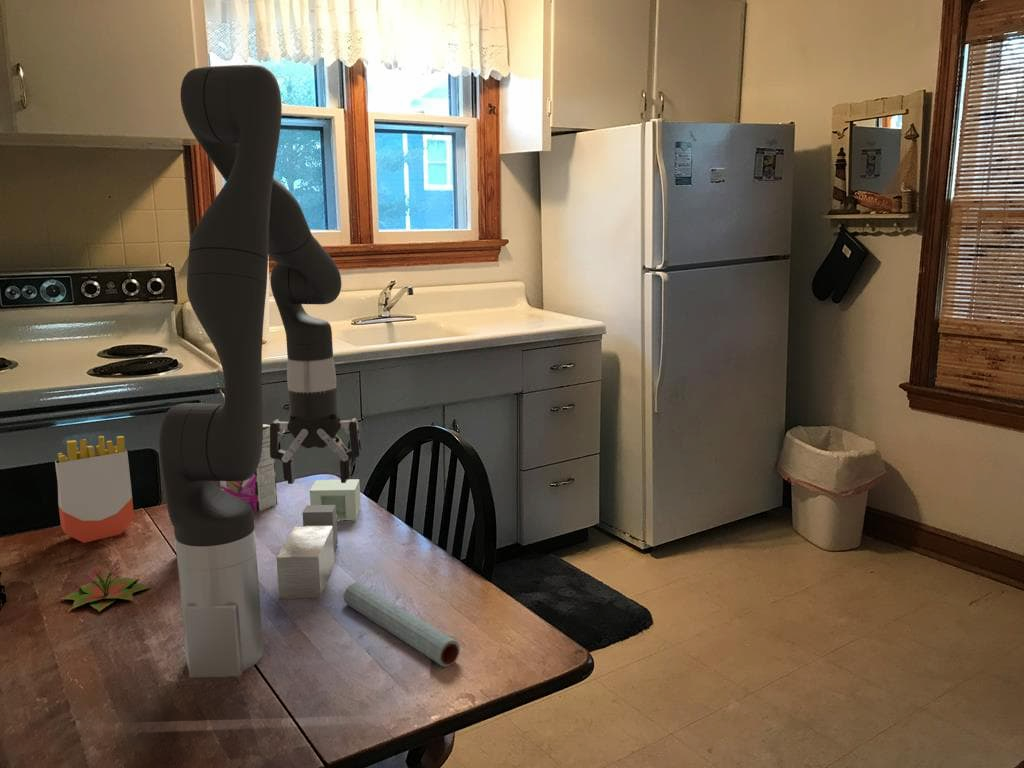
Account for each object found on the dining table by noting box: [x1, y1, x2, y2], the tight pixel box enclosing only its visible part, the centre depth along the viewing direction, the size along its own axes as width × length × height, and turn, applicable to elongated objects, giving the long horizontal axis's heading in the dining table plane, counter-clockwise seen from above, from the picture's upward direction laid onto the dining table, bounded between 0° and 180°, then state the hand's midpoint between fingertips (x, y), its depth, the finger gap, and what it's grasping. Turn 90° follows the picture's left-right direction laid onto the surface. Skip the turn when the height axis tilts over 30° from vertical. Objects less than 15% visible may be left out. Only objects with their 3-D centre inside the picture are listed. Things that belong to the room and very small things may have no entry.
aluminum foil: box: [343, 582, 461, 670], centre depth 110 cm, size 23×7×3 cm, turn 42°
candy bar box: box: [218, 423, 278, 512], centre depth 158 cm, size 11×5×16 cm, turn 58°
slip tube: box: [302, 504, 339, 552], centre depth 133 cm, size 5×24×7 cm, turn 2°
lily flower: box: [58, 563, 152, 613], centre depth 123 cm, size 12×12×5 cm
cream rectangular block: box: [276, 526, 335, 600], centre depth 126 cm, size 6×12×6 cm, turn 2°
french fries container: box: [54, 435, 135, 544], centre depth 143 cm, size 5×11×18 cm, turn 128°
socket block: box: [309, 478, 362, 522], centre depth 152 cm, size 8×6×6 cm
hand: (318, 482), depth 136 cm, fingers open, 8 cm apart
